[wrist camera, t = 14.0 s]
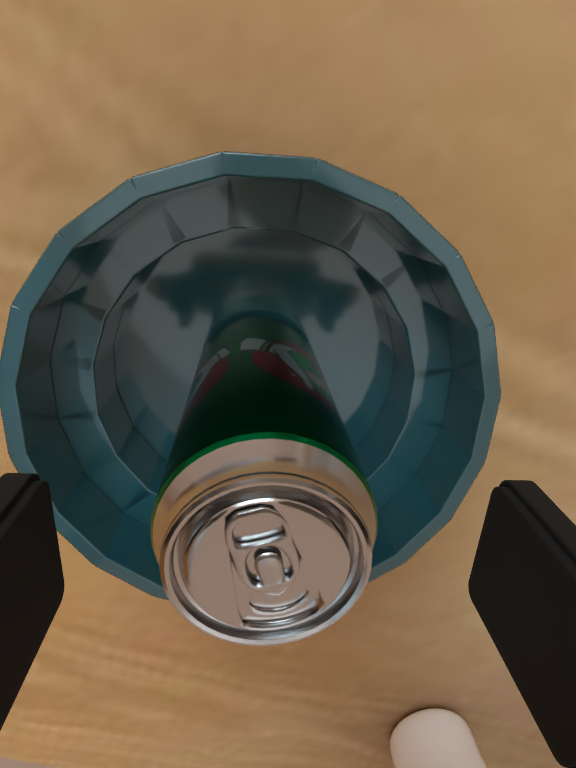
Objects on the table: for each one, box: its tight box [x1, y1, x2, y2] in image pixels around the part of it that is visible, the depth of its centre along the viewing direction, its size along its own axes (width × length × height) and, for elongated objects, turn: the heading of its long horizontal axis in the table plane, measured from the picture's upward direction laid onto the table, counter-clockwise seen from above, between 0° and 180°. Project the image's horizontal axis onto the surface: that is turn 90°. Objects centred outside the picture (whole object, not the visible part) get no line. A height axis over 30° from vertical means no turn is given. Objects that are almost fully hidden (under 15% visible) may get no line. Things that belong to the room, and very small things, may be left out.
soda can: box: [150, 316, 378, 646], centre depth 15 cm, size 5×5×12 cm
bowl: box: [0, 151, 501, 600], centre depth 19 cm, size 16×16×6 cm
